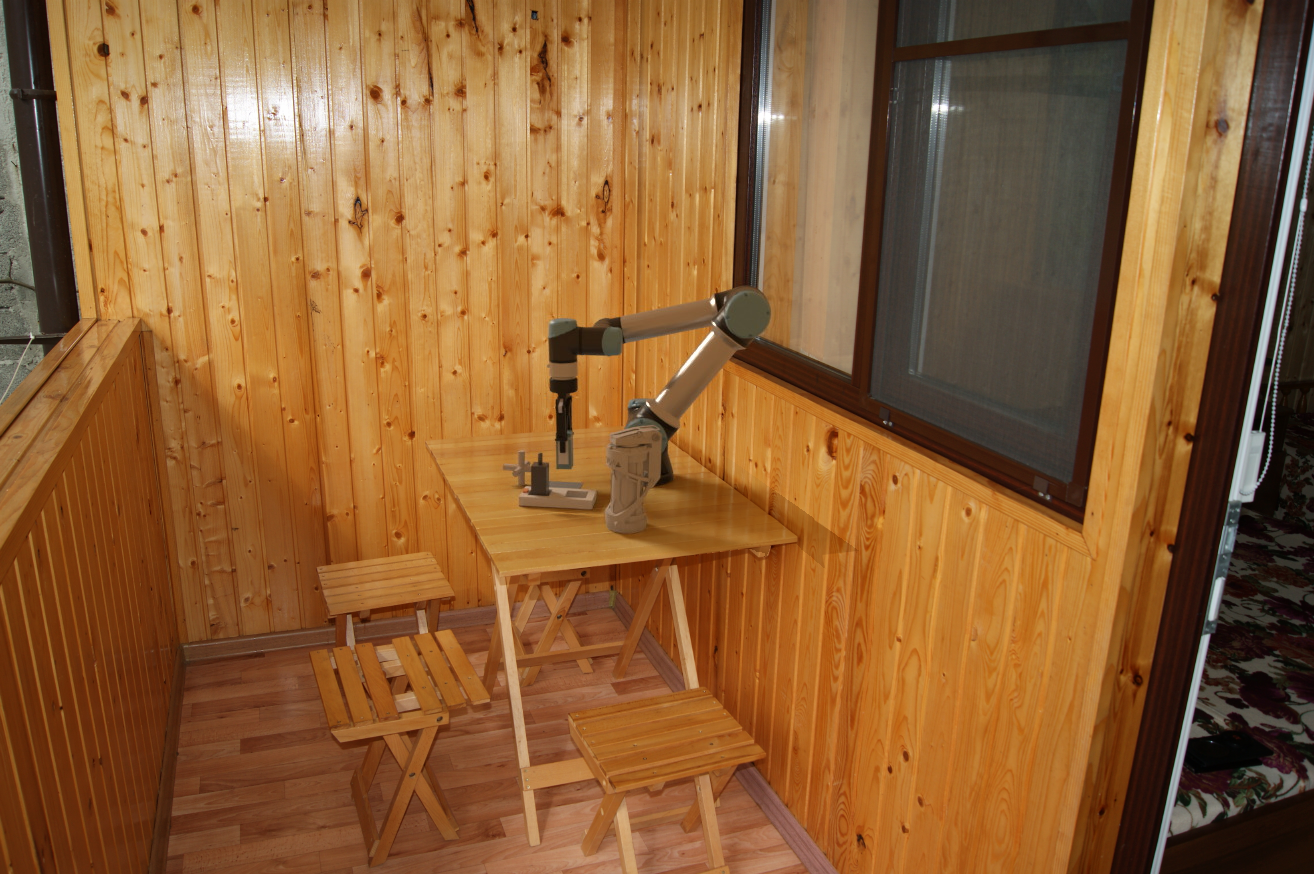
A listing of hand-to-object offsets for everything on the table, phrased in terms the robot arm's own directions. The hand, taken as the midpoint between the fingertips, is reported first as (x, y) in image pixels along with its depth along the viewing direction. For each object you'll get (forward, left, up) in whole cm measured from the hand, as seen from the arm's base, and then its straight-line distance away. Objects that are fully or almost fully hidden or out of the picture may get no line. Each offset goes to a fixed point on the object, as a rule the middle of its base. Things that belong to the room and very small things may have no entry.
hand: (564, 461), depth 282 cm
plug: (0, 0, -2) cm, 2 cm away
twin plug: (+4, +13, -8) cm, 16 cm away
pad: (+1, 0, -8) cm, 8 cm away
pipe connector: (+12, -1, -8) cm, 15 cm away
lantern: (-21, +27, -8) cm, 35 cm away
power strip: (0, +13, -8) cm, 15 cm away
